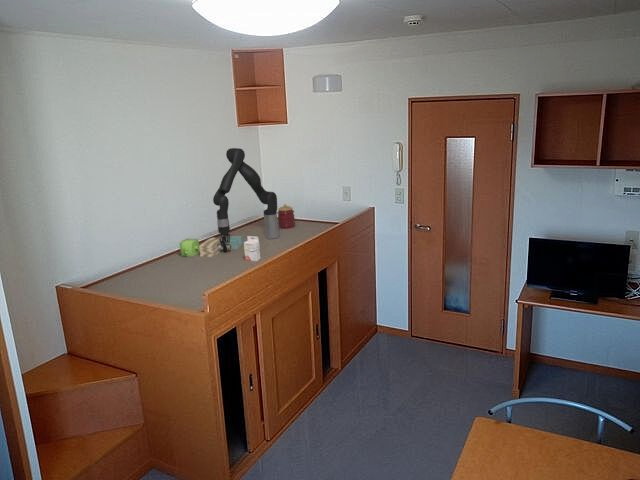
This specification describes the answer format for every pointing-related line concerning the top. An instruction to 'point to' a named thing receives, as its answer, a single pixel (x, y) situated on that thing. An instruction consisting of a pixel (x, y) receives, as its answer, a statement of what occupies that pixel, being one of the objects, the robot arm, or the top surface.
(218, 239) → the beam
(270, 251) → the top surface
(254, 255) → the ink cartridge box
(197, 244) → the green cube pot
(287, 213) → the canister
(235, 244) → the v block
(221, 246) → the axle
